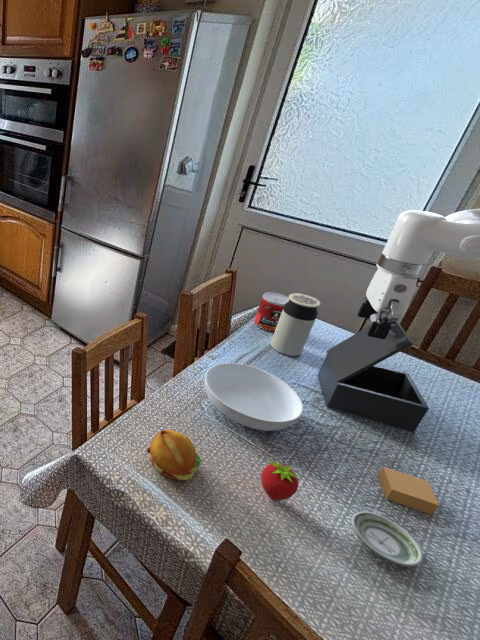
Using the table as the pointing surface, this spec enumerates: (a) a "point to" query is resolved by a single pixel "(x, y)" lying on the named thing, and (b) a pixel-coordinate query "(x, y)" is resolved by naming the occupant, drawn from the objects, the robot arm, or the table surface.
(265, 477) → the strawberry
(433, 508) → the brown rectangular block
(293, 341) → the travel mug
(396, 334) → the lid
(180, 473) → the cheeseburger
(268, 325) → the canned food
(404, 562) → the saucer
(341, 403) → the lidded storage box
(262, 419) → the serving bowl
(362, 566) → the table surface
